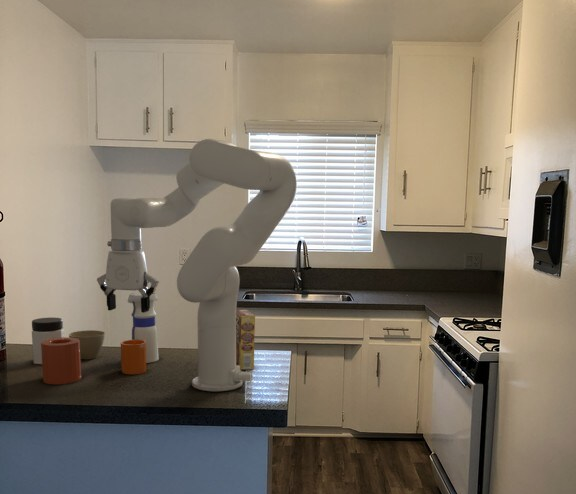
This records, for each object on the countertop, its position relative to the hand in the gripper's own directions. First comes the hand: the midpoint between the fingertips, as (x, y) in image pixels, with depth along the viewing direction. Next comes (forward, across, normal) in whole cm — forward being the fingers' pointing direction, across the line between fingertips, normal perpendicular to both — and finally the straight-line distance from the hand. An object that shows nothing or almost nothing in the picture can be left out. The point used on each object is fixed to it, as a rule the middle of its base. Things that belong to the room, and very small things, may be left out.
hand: (128, 310), depth 166 cm
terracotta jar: (+17, -13, -12) cm, 24 cm away
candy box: (+17, +28, +13) cm, 35 cm away
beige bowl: (+17, -19, +10) cm, 27 cm away
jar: (+17, -27, +3) cm, 32 cm away
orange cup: (+17, +1, 0) cm, 17 cm away
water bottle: (+17, -2, +12) cm, 21 cm away
